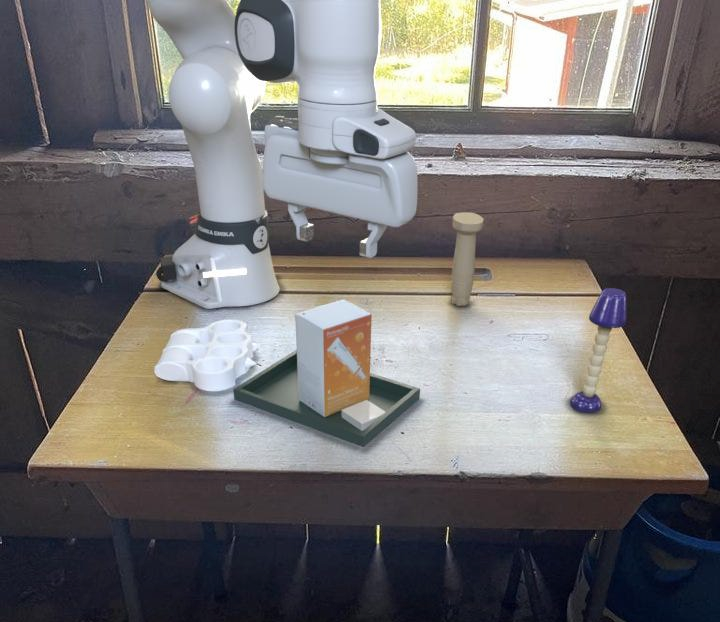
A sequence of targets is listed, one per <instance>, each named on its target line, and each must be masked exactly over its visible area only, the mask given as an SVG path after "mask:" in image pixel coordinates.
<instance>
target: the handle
mask: <svg viewBox="0 0 720 622" xmlns="http://www.w3.org/2000/svg"><path fill="white" fill-rule="evenodd" d="M452 228H453V229H454V230H455V231H456V241H455V247H454V254H453V262H452V267H451V280H450V281H451V282H450V285H451V286H450V292H451V296H450V299H451V304H453V305H456V306H457V307H461V306H463V307H464V306H468V304H469V303H470V300H471V295H472V290H473V285H474V280H475V279H474V278H475V267H476V247H477V245H476V244H477V233H478V232H480V231H481V230H482V229H483V228H484V218H483V217H482V216H481V215H480V214H478V213H475V212H468V211H467V212H457V213H454V214H453V216H452Z"/></svg>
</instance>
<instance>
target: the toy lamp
mask: <svg viewBox="0 0 720 622" xmlns="http://www.w3.org/2000/svg"><path fill="white" fill-rule="evenodd" d="M588 320H589V321H590V322H591V323H592V324H593V325H596V326H597V332H596V334H595V336H594V341H595V342H594V343H593V345H592V352H591V354H590V357H589V365H588V366H587V371H586V373H587V374H586V376H585V378H584V385H583V387H582V391H579V392H576V393H575V394H574V395H573V396H572V397H571V400H570V401H569V404H570V406H571V407H572V409H574V410H576V411H577V412H581V413H587V414H592V413H593V414H594V413H598V412H600V410H602V400H601V397H600V396H598V395H597V394H596V393H597V385H598V384H599V381H600V374H601V373H602V370H603V369H602V367H603V366H602V365H603V363H604V360H605V354H606V352H607V348H608V345H607V344H608V343H609V341H610V333H611V332H612V330H613V329H620V328H622V327H624V326H625V325H626V323H627V294H626V292H625V291H624V290H622V289H618V288H613V287H612V288H611V287H608V288H604V289H602V291H601V292H600V294H599V295H598V297H597V299H596V301H595V303H594V305H593V306H592V309H591V311H590V312H589V316H588Z"/></svg>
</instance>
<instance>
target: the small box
mask: <svg viewBox="0 0 720 622" xmlns="http://www.w3.org/2000/svg"><path fill="white" fill-rule="evenodd" d="M294 321H295V322H294V323H295V344H296V350H297V371H298V392H299V400H300V401H302V402H303V403H304V404H306V405H307V406H309V407H310V408H312V409H313V410H314V411H316V412H317V413H319V414H320V415H322V416H323V417H327V416H329V415H331V414H334V413H336V412H338V411H341V410H343V409H345V408H348V407H350V406H352V405H355V404H357V403H360V402H362V401H365V400H369V390H370V373H371V352H372V350H371V349H372V313H370V312H369V311H367V310H366V309H363V308H361V307H360V306H358V305H356V304H354V303H352V302H350V301H348V300H346V299H345V298H342V299H340V300H336V301H332V302H329V303H325V304H321V305H317V306H315V307H313V308H309V309H307V310H303V311H300V312H297V313H295V314H294Z"/></svg>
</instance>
